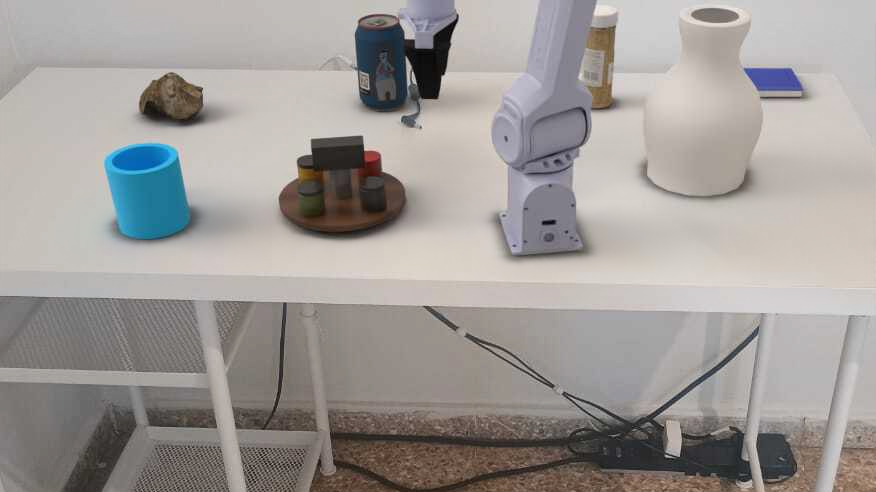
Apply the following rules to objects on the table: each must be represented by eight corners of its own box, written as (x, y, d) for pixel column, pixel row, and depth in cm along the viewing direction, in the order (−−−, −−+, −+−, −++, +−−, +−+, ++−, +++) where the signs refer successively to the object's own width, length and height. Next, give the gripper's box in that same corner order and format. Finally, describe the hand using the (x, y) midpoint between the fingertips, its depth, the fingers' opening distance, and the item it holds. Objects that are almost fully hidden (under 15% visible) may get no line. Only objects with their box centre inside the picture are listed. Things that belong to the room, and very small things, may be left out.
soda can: (386, 90, 153) (381, 9, 146) (418, 103, 149) (414, 19, 142) (350, 103, 149) (343, 20, 142) (381, 117, 145) (376, 32, 138)
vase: (625, 190, 126) (639, 27, 114) (650, 143, 137) (665, -11, 125) (744, 208, 122) (772, 40, 110) (760, 158, 133) (786, 0, 121)
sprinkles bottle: (618, 104, 148) (625, 9, 140) (593, 112, 146) (599, 16, 138) (597, 94, 151) (603, 1, 143) (573, 101, 149) (577, 7, 141)
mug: (185, 237, 119) (172, 172, 114) (113, 241, 118) (96, 176, 113) (199, 189, 128) (187, 127, 124) (132, 192, 128) (118, 130, 123)
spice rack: (411, 226, 118) (407, 165, 113) (278, 236, 117) (269, 175, 112) (400, 168, 130) (397, 111, 125) (280, 177, 129) (272, 119, 124)
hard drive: (715, 87, 148) (803, 87, 148) (707, 66, 155) (790, 66, 154) (714, 98, 149) (801, 98, 149) (705, 76, 156) (789, 76, 155)
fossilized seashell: (220, 96, 146) (179, 91, 152) (189, 63, 141) (148, 59, 147) (190, 138, 144) (150, 131, 150) (158, 106, 139) (118, 100, 145)
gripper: (403, -45, 126) (408, 64, 134) (385, -9, 114) (392, 108, 122) (461, -45, 125) (463, 65, 133) (449, -8, 113) (452, 110, 121)
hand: (433, 86), depth 127 cm, fingers open, 7 cm apart
